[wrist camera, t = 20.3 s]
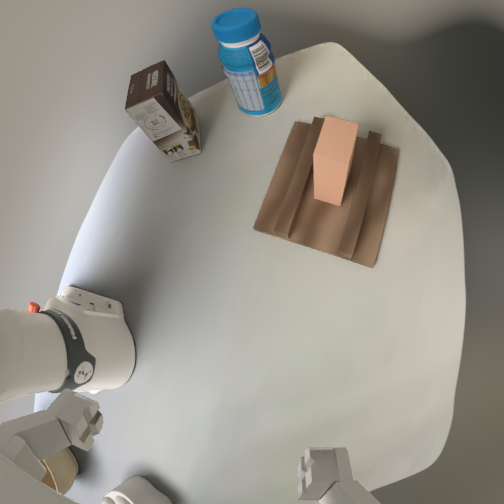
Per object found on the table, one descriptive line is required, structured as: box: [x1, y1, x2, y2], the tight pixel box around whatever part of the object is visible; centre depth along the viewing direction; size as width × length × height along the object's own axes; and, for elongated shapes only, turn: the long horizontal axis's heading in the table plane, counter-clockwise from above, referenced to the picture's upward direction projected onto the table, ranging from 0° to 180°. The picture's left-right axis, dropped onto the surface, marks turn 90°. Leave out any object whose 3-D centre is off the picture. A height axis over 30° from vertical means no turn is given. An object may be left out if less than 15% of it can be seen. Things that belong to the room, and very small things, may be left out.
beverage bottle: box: [211, 8, 281, 116], centre depth 39 cm, size 8×8×20 cm
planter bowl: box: [40, 447, 78, 495], centre depth 35 cm, size 16×16×11 cm
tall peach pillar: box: [313, 116, 359, 206], centre depth 35 cm, size 4×6×12 cm, turn 159°
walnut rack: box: [253, 117, 398, 268], centre depth 40 cm, size 18×20×4 cm
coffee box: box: [125, 61, 201, 162], centre depth 42 cm, size 9×6×16 cm
